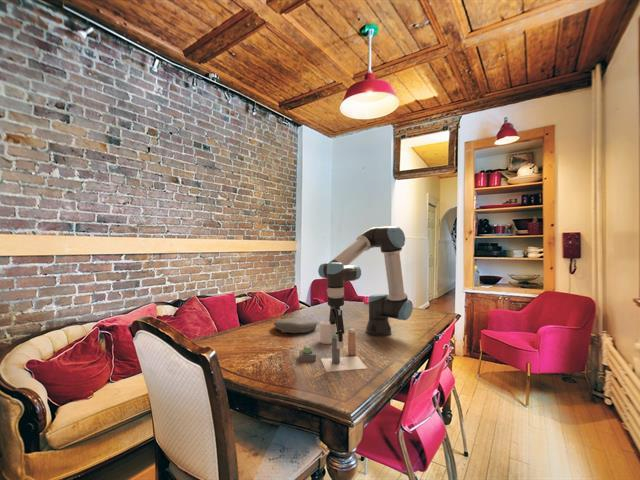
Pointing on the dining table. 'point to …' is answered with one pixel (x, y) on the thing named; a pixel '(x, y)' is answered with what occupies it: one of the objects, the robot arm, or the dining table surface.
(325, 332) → the mug
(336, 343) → the marker
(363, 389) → the dining table surface
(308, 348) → the button
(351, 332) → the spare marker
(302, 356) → the button base
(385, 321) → the robot arm
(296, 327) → the flat disc
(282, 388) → the dining table surface
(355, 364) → the paper
